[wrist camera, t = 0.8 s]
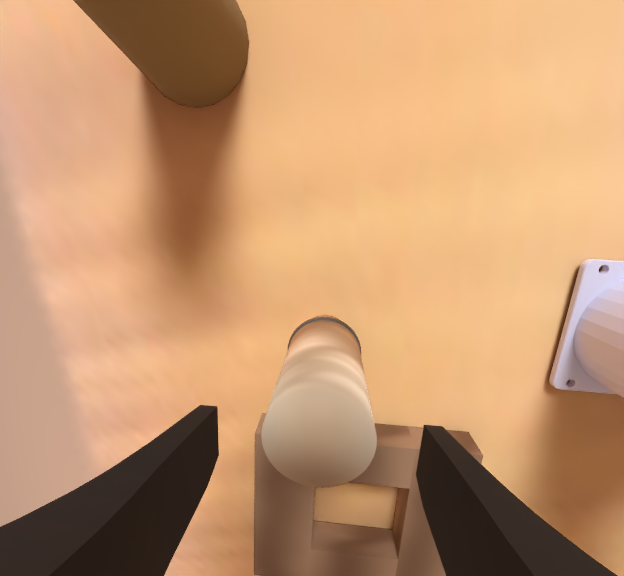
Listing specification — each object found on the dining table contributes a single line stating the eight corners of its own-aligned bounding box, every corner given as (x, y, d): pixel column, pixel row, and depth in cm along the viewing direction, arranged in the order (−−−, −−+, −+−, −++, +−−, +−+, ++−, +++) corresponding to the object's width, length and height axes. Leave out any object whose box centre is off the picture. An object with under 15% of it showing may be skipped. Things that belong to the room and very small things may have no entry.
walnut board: (468, 432, 20) (483, 455, 18) (440, 565, 23) (450, 598, 21) (262, 413, 21) (254, 433, 19) (260, 544, 23) (253, 574, 22)
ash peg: (360, 308, 18) (385, 392, 10) (354, 369, 19) (372, 495, 11) (294, 304, 19) (259, 381, 10) (291, 364, 20) (258, 482, 11)
